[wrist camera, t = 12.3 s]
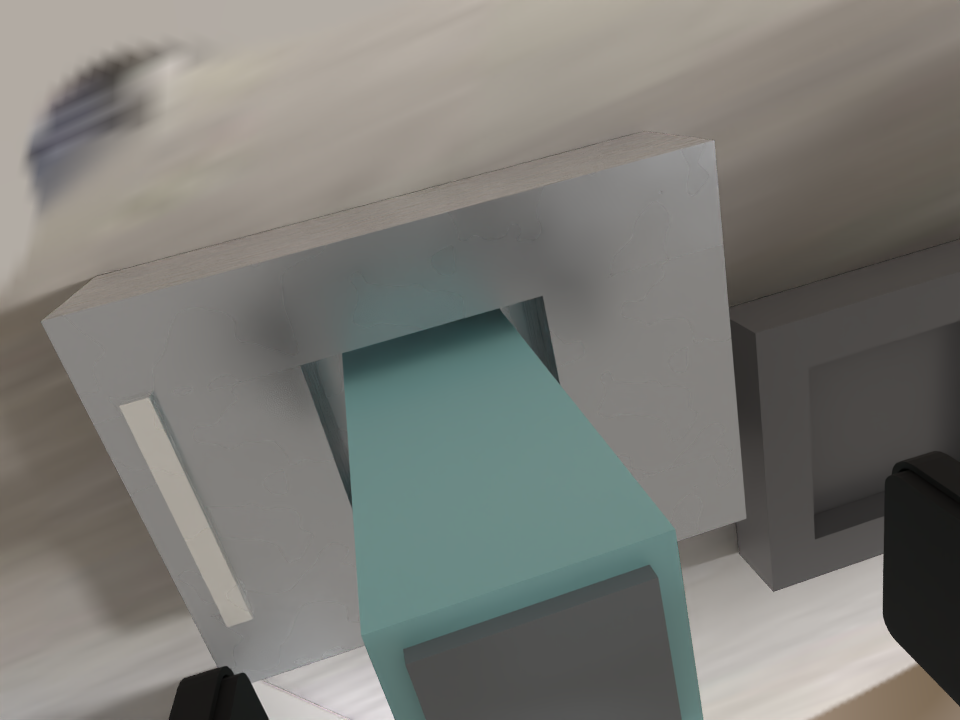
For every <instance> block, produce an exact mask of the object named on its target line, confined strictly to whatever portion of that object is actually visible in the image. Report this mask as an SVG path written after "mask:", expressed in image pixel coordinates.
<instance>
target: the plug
mask: <svg viewBox="0 0 960 720" xmlns="http://www.w3.org/2000/svg"><path fill="white" fill-rule="evenodd" d="M342 360H343V375H344V390H345V405H346V419H347V434H348V449H349V464H350V479H351V494H352V509H353V523H354V538H355V553H356V568H357V583H358V598H359V613H360V627H361V637H362V639H363V642H364V644H365V647H366V649H367V652H368V654H369V657H370V659H371V662H372V664H373V667H374V669H375V672H376V674H377V676H378V679H379V681H380V684H381V686H382V689H383V691H384V694H385V696H386V699H387V701H388V704H389V706H390V709H391V711H392V714H393V716H394V719H395V720H703V714H702V707H701V700H700V693H699V687H698V680H697V673H696V666H695V659H694V653H693V646H692V639H691V632H690V625H689V619H688V612H687V605H686V598H685V591H684V585H683V578H682V571H681V564H680V557H679V551H678V544H677V537H676V530H675V528H674V527H673V526H672V524H671V523H670V522H669V521H668V519H667V518H666V517H665V516H664V514H663V513H662V512H661V511H660V509H659V508H658V507H657V506H656V504H655V503H654V502H653V501H652V499H651V498H650V497H649V496H648V494H647V493H646V492H645V491H644V489H643V488H642V487H641V486H640V484H639V483H638V482H637V481H636V479H635V478H634V477H633V476H632V474H631V473H630V472H629V471H628V469H627V468H626V467H625V466H624V464H623V463H622V462H621V460H620V459H619V458H618V457H617V455H616V454H615V453H614V452H613V450H612V449H611V448H610V447H609V445H608V444H607V443H606V442H605V440H604V439H603V438H602V437H601V435H600V434H599V433H598V432H597V430H596V429H595V428H594V427H593V425H592V424H591V423H590V422H589V420H588V419H587V418H586V417H585V415H584V414H583V413H582V412H581V410H580V409H579V408H578V407H577V405H576V404H575V403H574V402H573V400H572V399H571V398H570V397H569V395H568V394H567V393H566V392H565V390H564V389H563V388H562V387H561V385H560V384H559V383H558V382H557V380H556V379H555V378H554V377H553V375H552V374H551V373H550V372H549V370H548V369H547V368H546V367H545V365H544V364H543V363H542V362H541V360H540V359H539V358H538V356H537V355H536V354H535V353H534V351H533V350H532V349H531V348H530V346H529V345H528V344H527V343H526V341H525V340H524V339H523V338H522V336H521V335H520V334H519V333H518V331H517V330H516V329H515V328H514V326H513V325H512V324H511V323H510V321H509V320H508V319H507V318H506V316H505V315H504V314H503V313H502V311H501V310H500V309H499V308H498V309H495V310H491V311H488V312H484V313H481V314H477V315H474V316H470V317H467V318H463V319H460V320H456V321H453V322H449V323H446V324H442V325H439V326H435V327H432V328H429V329H425V330H422V331H418V332H415V333H411V334H408V335H404V336H401V337H397V338H394V339H390V340H387V341H383V342H380V343H376V344H373V345H369V346H366V347H362V348H359V349H355V350H352V351H348V352H345V353H342Z"/></svg>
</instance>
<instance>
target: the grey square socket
mask: <svg viewBox="0 0 960 720" xmlns="http://www.w3.org/2000/svg"><path fill="white" fill-rule="evenodd" d="M729 317H730V329H731V341H732V353H733V365H734V376H735V388H736V400H737V412H738V424H739V436H740V448H741V459H742V471H743V483H744V495H745V507H746V519H744V520H741V521H738V522H736V527H737V538H738V548H739V554H740V555H741V556H742V557H743V558H744V560H745V561H746V562H747V563H748V564H749V565H750V566H751V567H752V568H753V570H754V571H755V572H756V573H757V574H758V575H759V576H760V577H761V579H762V580H763V581H764V582H765V583H766V584H767V585H768V586H769V588H770V589H771V590H772V591H773V592H774V591H777V590H780V589H783V588H786V587H789V586H791V585H794V584H797V583H800V582H803V581H806V580H809V579H812V578H815V577H817V576H820V575H823V574H826V573H829V572H832V571H835V570H838V569H841V568H843V567H846V566H849V565H852V564H855V563H858V562H861V561H864V560H867V559H869V558H872V557H875V556H878V555H881V554H884V495H885V480H886V478H887V477H888V476H890V475H892V469H893V467H894V465H895V464H896V463H898V462H900V461H903V460H906V459H910V458H913V457H916V456H920V455H923V454H926V453H930V452H933V451H941V452H943V453H945V454H947V455H949V456H951V457H952V458H954V459H956V460H957V461H959V462H960V239H959V240H955V241H952V242H949V243H945V244H942V245H939V246H935V247H932V248H928V249H925V250H922V251H918V252H915V253H912V254H908V255H905V256H902V257H898V258H895V259H891V260H888V261H885V262H881V263H878V264H875V265H871V266H868V267H865V268H861V269H858V270H854V271H851V272H848V273H844V274H841V275H838V276H834V277H831V278H827V279H824V280H821V281H817V282H814V283H811V284H807V285H804V286H801V287H797V288H794V289H790V290H787V291H784V292H780V293H777V294H774V295H770V296H767V297H764V298H760V299H757V300H753V301H750V302H747V303H743V304H740V305H737V306H733V307H730V308H729Z"/></svg>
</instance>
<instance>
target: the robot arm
mask: <svg viewBox="0 0 960 720" xmlns="http://www.w3.org/2000/svg"><path fill="white" fill-rule="evenodd" d="M883 618H884V621H885V624H886V626H887V628H888V630H889V632H890V634H891V635H892V637H893V638H894V639H895V640H896V641H897V642H898V643H899V645H900V646H901V647H902V648H903V649H904V650H905V651H906V652H907V653H908V654H909V655H910V656H911V657H912V658H913V659H914V660H915V661H916V662H917V663H918V664H919V665H920V666H921V667H922V668H923V669H924V670H925V671H926V672H927V673H928V674H929V675H930V676H931V677H932V678H933V679H934V680H935V681H936V682H937V683H938V685H939V686H940V687H942V688H943V690H944V691H945V692H946V693H947V694H948V695H949V696H950V697H951V698H952V699H953V700H954V701H955V702H956V703H957V704H958V705H959V706H960V462H959V461H957V460H956V459H954V458H952V457H951V456H949V455H947V454H945V453H943V452H941V451H933V452H930V453H926V454H923V455H920V456H916V457H913V458H910V459H906V460H903V461H900V462H898V463H896V464H895V465H894V467H893V469H892V475H890V476H888V477H887V478H886V480H885V495H884V564H883ZM169 720H269V718H268V716H267V714H266V712H265V710H264V708H263V706H262V704H261V702H260V700H259V698H258V696H257V694H256V692H255V690H254V688H253V686H252V684H251V682H250V680H249V678H248V676H247V675H246V674H245V673H244V672H243V673H239V674H234V673H233V671H232V670H231V669H230V668H229V667H228V666H223V667H220V668H216V669H213V670H210V671H206V672H203V673H200V674H197V675H193V676H190V677H187V678H184V679H183V680H182V681H181V682H180V684H179V686H178V689H177V692H176V695H175V699H174V702H173V706H172V710H171V713H170V717H169Z"/></svg>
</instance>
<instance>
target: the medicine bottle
mask: <svg viewBox="0 0 960 720" xmlns="http://www.w3.org/2000/svg"><path fill="white" fill-rule="evenodd" d="M251 684H252V686H253V688H254V690H255V692H256V694H257V696H258V698H259V700H260V702H261V704H262V706H263V708H264V710H265V712H266V714H267V716H268V718H269V720H350V719H348V718H346V717H343V716H341V715H339V714H337V713H334V712H332V711H330V710H328V709H325V708H323V707H321V706H319V705H316V704H314V703H312V702H310V701H307V700H305V699H303V698H301V697H298V696H296V695H294V694H292V693H289V692H287V691H285V690H283V689H281V688H278V687H276V686H274V685H272V684H269V683H267V682H265V681H263V680H260V681H257V682H254V683H251Z"/></svg>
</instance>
